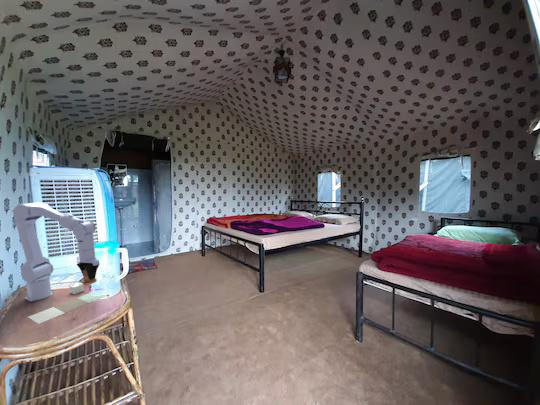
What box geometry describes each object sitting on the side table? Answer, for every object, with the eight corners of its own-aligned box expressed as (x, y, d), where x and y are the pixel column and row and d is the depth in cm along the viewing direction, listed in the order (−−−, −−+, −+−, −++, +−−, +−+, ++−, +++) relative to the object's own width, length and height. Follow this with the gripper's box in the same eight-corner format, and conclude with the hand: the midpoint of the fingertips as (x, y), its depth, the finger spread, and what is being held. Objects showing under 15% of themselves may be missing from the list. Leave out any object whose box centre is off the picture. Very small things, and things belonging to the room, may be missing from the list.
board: (27, 318, 98) (27, 317, 98) (97, 291, 120) (97, 290, 120) (38, 325, 93) (38, 323, 93) (108, 295, 115) (108, 294, 115)
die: (70, 293, 118) (69, 285, 117) (80, 290, 121) (79, 282, 121) (74, 295, 116) (73, 287, 115) (84, 292, 119) (83, 284, 119)
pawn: (80, 283, 111) (78, 270, 110) (92, 278, 116) (91, 266, 115) (86, 285, 109) (84, 272, 108) (98, 281, 113) (97, 268, 112)
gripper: (67, 249, 110) (71, 278, 112) (84, 253, 104) (88, 284, 105) (85, 245, 117) (88, 272, 118) (102, 249, 110) (105, 278, 111)
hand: (89, 278), depth 112 cm, fingers closed on pawn, 4 cm apart
